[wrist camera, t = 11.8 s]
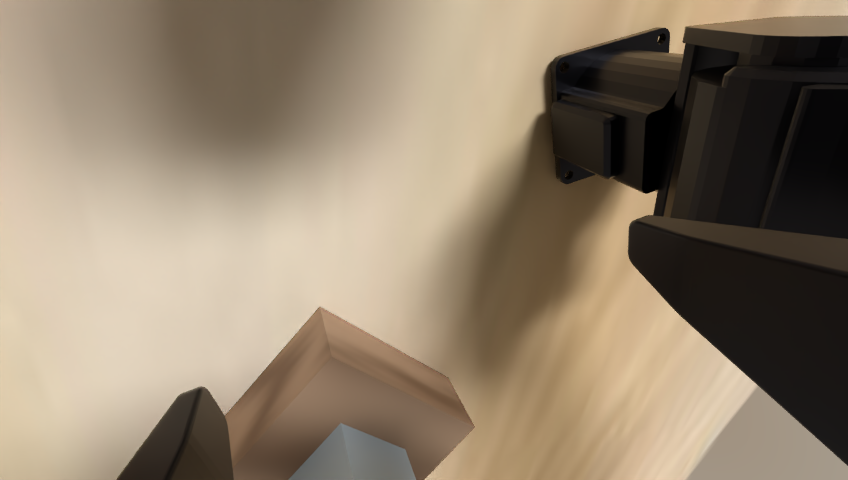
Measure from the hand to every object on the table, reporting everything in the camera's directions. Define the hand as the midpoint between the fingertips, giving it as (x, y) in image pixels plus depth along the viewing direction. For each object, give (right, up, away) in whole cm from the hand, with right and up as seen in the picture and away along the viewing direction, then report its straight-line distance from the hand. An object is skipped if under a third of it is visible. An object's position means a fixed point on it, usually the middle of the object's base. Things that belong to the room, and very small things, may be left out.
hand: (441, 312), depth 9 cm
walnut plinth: (-6, -8, +17) cm, 20 cm away
